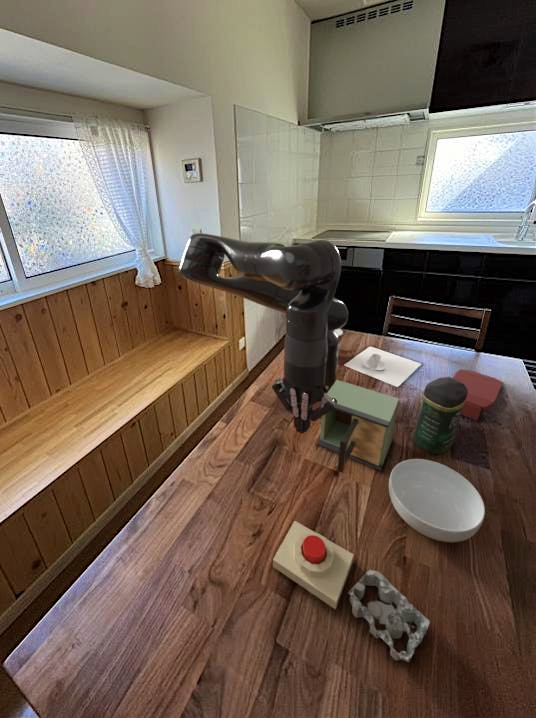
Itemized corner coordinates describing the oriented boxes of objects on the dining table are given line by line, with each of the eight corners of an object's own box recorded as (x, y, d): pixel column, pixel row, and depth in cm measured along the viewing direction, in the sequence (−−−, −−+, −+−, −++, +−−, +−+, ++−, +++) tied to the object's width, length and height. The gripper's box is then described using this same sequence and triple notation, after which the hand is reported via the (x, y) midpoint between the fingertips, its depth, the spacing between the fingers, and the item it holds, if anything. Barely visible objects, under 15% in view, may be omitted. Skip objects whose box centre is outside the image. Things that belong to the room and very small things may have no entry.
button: (298, 555, 61) (299, 549, 60) (308, 537, 64) (308, 530, 63) (319, 568, 59) (320, 562, 58) (328, 549, 61) (329, 542, 61)
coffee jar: (437, 460, 83) (453, 399, 75) (407, 441, 89) (419, 382, 82) (458, 444, 87) (475, 384, 80) (429, 426, 94) (442, 370, 86)
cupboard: (317, 444, 89) (320, 402, 84) (333, 419, 98) (336, 379, 92) (380, 471, 81) (388, 425, 75) (391, 441, 89) (399, 398, 84)
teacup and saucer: (370, 356, 129) (371, 347, 127) (391, 364, 124) (392, 354, 122) (359, 365, 124) (360, 356, 122) (379, 373, 118) (381, 364, 117)
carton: (457, 380, 118) (437, 405, 101) (461, 367, 117) (441, 391, 100) (499, 394, 111) (485, 423, 93) (503, 380, 109) (490, 408, 92)
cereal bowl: (441, 573, 60) (449, 548, 57) (368, 501, 74) (372, 478, 71) (495, 528, 67) (504, 504, 64) (419, 469, 81) (424, 447, 78)
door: (334, 479, 78) (338, 439, 73) (348, 451, 86) (353, 413, 81) (367, 495, 74) (374, 454, 69) (379, 463, 82) (386, 425, 77)
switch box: (272, 566, 62) (272, 553, 61) (294, 527, 69) (294, 514, 68) (335, 609, 56) (337, 595, 54) (352, 561, 63) (354, 548, 61)
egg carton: (342, 604, 57) (344, 589, 55) (370, 575, 60) (372, 561, 59) (402, 674, 49) (406, 659, 47) (429, 636, 52) (434, 621, 51)
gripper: (262, 353, 61) (263, 428, 68) (332, 375, 54) (325, 456, 61) (282, 337, 67) (281, 408, 74) (348, 355, 59) (340, 432, 66)
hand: (301, 430), depth 67 cm, fingers closed
